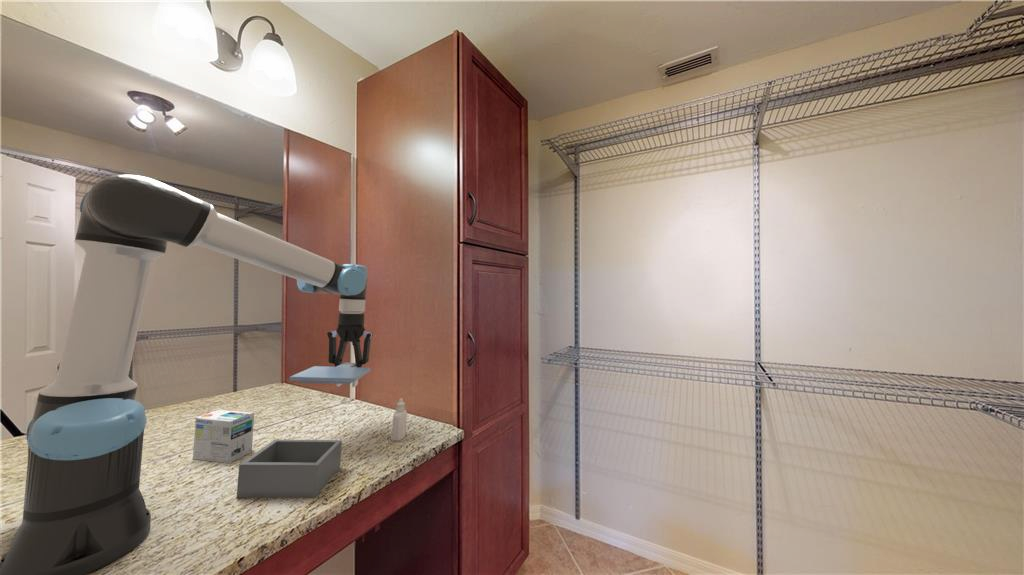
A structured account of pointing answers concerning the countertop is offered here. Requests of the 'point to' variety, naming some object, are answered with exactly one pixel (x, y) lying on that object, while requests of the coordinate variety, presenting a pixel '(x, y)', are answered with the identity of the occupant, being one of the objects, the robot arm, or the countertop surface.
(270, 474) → the tub
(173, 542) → the countertop surface
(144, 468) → the countertop surface
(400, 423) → the eye dropper bottle
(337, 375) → the lid
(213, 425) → the light bulb box
